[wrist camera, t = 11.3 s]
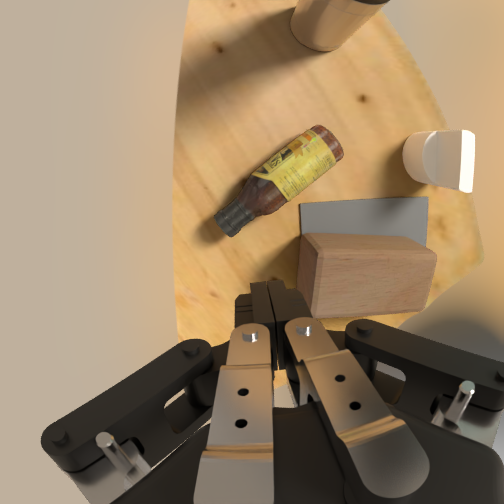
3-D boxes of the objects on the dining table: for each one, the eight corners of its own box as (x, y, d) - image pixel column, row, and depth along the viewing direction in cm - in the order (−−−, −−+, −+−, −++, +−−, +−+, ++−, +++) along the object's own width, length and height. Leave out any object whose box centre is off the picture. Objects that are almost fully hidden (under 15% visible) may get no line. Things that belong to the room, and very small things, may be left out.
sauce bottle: (322, 117, 34) (203, 211, 36) (351, 154, 35) (234, 248, 37) (312, 127, 40) (210, 208, 43) (337, 159, 41) (237, 240, 44)
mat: (299, 203, 43) (300, 203, 43) (427, 196, 43) (428, 196, 43) (303, 298, 48) (304, 299, 48) (421, 279, 48) (421, 280, 48)
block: (307, 321, 38) (425, 313, 39) (316, 250, 35) (440, 253, 36) (294, 289, 47) (397, 287, 48) (299, 230, 44) (407, 235, 45)
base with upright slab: (438, 185, 43) (483, 196, 32) (400, 179, 42) (444, 188, 31) (441, 137, 40) (486, 138, 29) (403, 127, 40) (447, 123, 28)
